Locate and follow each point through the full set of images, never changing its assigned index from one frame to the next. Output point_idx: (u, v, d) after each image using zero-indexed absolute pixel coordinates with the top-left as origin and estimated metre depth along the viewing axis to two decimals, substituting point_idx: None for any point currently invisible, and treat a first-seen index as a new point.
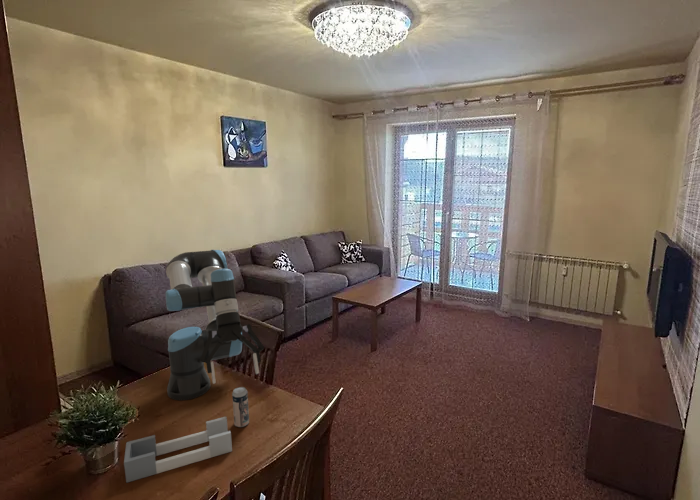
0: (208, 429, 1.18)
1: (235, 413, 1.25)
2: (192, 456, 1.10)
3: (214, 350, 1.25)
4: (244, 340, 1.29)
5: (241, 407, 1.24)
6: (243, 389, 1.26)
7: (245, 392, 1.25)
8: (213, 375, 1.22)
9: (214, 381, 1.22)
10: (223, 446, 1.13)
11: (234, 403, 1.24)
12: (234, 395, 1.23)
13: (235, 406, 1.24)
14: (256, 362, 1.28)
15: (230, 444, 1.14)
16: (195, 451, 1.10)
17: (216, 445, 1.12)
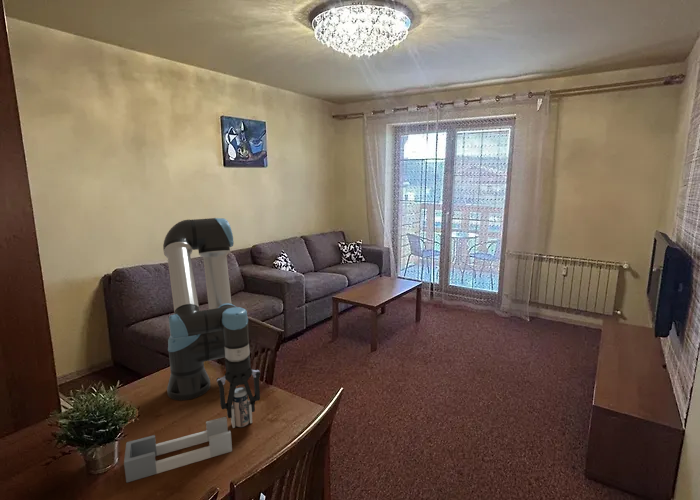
0: (208, 429, 1.18)
1: (235, 413, 1.25)
2: (192, 456, 1.10)
3: (231, 397, 1.23)
4: (247, 388, 1.25)
5: (241, 407, 1.24)
6: (243, 389, 1.26)
7: (245, 392, 1.25)
8: (233, 421, 1.24)
9: (234, 426, 1.25)
10: (223, 446, 1.13)
11: (234, 403, 1.24)
12: (234, 395, 1.23)
13: (235, 406, 1.24)
14: (250, 413, 1.27)
15: (230, 444, 1.14)
16: (195, 451, 1.10)
17: (216, 445, 1.12)
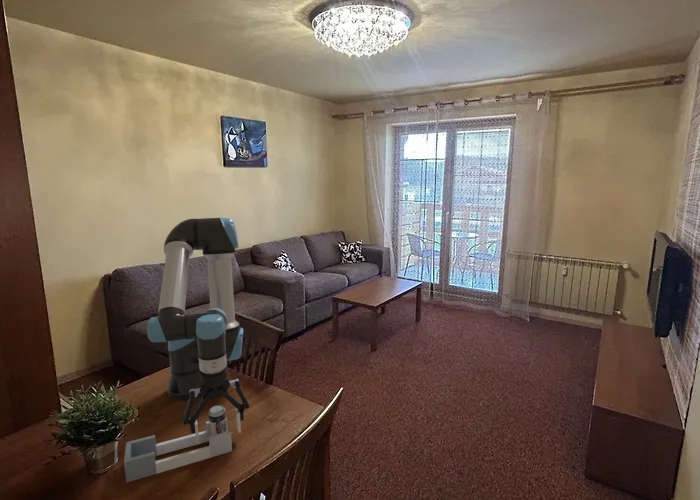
0: (208, 429, 1.18)
1: (212, 434, 1.15)
2: (192, 456, 1.10)
3: (198, 412, 1.12)
4: (229, 399, 1.15)
5: (218, 427, 1.14)
6: (221, 408, 1.16)
7: (223, 411, 1.15)
8: (197, 437, 1.13)
9: (197, 443, 1.13)
10: (223, 446, 1.13)
11: (210, 423, 1.14)
12: (210, 414, 1.13)
13: (211, 427, 1.14)
14: (239, 422, 1.17)
15: (230, 444, 1.14)
16: (195, 451, 1.10)
17: (216, 445, 1.12)
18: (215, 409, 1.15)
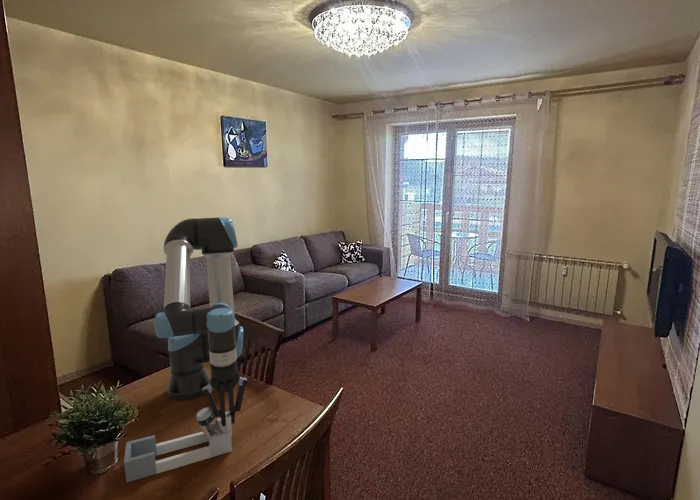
0: None
1: (206, 436, 1.14)
2: (192, 456, 1.10)
3: (222, 405, 1.14)
4: (230, 396, 1.15)
5: (209, 429, 1.13)
6: (207, 410, 1.14)
7: (209, 413, 1.13)
8: (227, 429, 1.16)
9: None
10: (223, 446, 1.13)
11: (201, 427, 1.13)
12: (198, 419, 1.12)
13: (203, 430, 1.13)
14: (230, 425, 1.16)
15: (230, 444, 1.14)
16: (195, 451, 1.10)
17: (216, 445, 1.12)
18: (202, 413, 1.13)
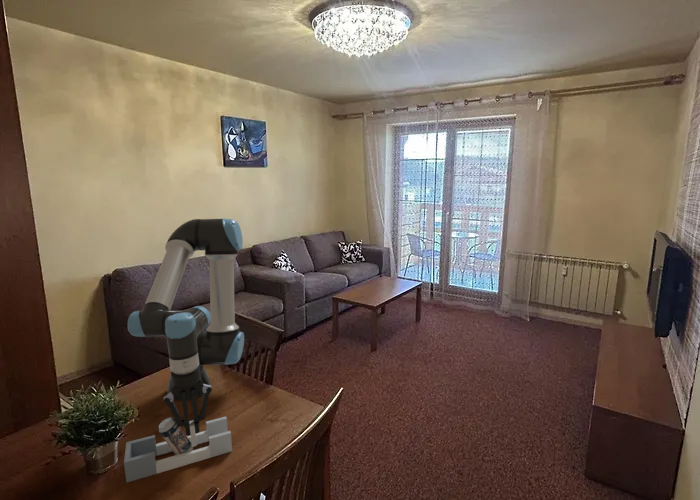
0: (208, 429, 1.18)
1: (171, 447, 1.09)
2: (192, 456, 1.10)
3: (185, 414, 1.10)
4: (193, 405, 1.10)
5: (172, 440, 1.08)
6: (170, 420, 1.09)
7: (171, 423, 1.08)
8: (192, 439, 1.12)
9: (193, 445, 1.12)
10: (223, 446, 1.13)
11: (164, 438, 1.08)
12: (160, 431, 1.07)
13: (167, 441, 1.09)
14: (194, 435, 1.12)
15: (230, 444, 1.14)
16: (195, 451, 1.10)
17: (216, 445, 1.12)
18: (164, 423, 1.09)
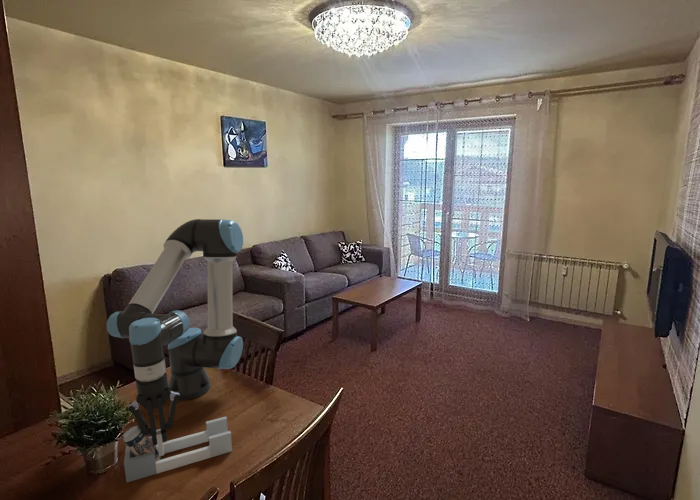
0: (208, 429, 1.18)
1: None
2: (192, 456, 1.10)
3: (151, 422, 1.06)
4: (160, 413, 1.07)
5: (138, 449, 1.04)
6: (135, 429, 1.06)
7: (137, 432, 1.04)
8: (159, 448, 1.08)
9: (160, 454, 1.08)
10: (223, 446, 1.13)
11: (129, 447, 1.05)
12: (124, 440, 1.04)
13: (132, 450, 1.05)
14: (161, 444, 1.08)
15: (230, 444, 1.14)
16: (195, 451, 1.10)
17: (216, 445, 1.12)
18: (129, 432, 1.05)
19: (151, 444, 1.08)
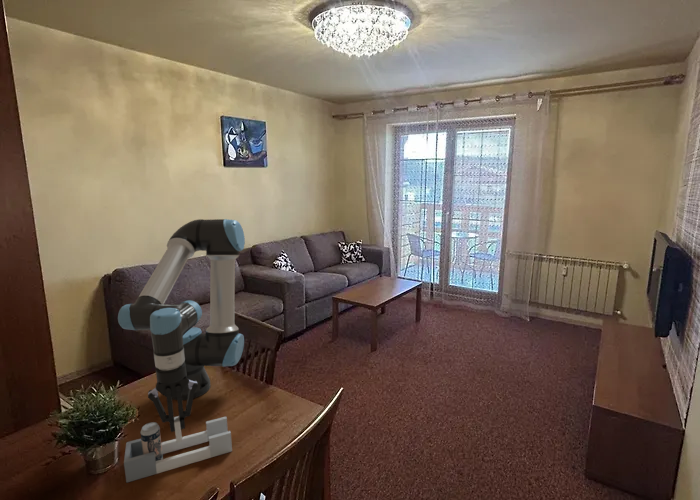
0: (208, 429, 1.18)
1: (144, 453, 1.07)
2: (192, 456, 1.10)
3: (170, 410, 1.08)
4: (179, 401, 1.09)
5: (150, 446, 1.06)
6: (154, 425, 1.08)
7: (156, 429, 1.07)
8: (176, 435, 1.10)
9: (177, 441, 1.11)
10: (223, 446, 1.13)
11: (142, 442, 1.06)
12: (142, 433, 1.05)
13: (143, 446, 1.06)
14: (179, 431, 1.10)
15: (230, 444, 1.14)
16: (195, 451, 1.10)
17: (216, 445, 1.12)
18: (148, 427, 1.07)
19: (161, 445, 1.09)
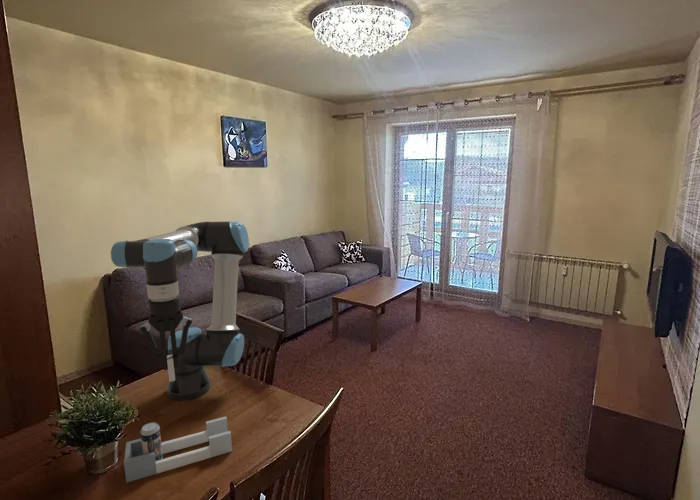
0: (208, 429, 1.18)
1: (144, 453, 1.07)
2: (192, 456, 1.10)
3: (162, 346, 1.04)
4: (172, 337, 1.05)
5: (150, 446, 1.06)
6: (154, 425, 1.08)
7: (156, 429, 1.07)
8: (169, 373, 1.06)
9: (170, 380, 1.07)
10: (223, 446, 1.13)
11: (142, 442, 1.06)
12: (142, 433, 1.05)
13: (143, 446, 1.06)
14: (172, 369, 1.06)
15: (230, 444, 1.14)
16: (195, 451, 1.10)
17: (216, 445, 1.12)
18: (148, 427, 1.07)
19: (161, 445, 1.09)
